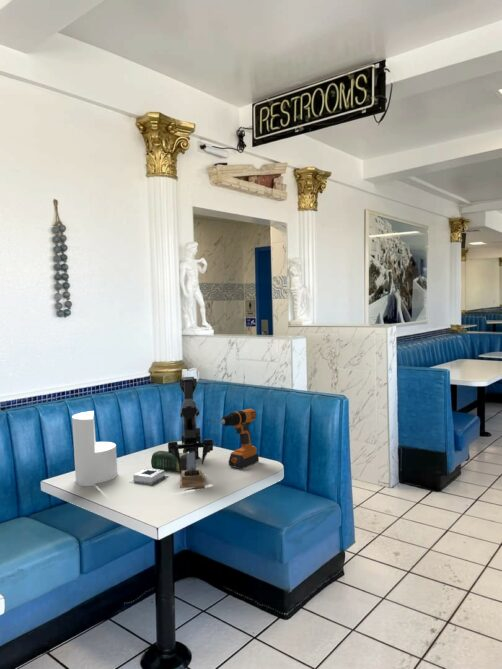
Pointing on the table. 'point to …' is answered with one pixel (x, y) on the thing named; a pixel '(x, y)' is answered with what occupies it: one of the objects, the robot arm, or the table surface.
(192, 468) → the metal rod
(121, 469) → the table surface
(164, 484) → the table surface
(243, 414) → the power drill
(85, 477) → the stepped white column
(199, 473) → the wooden tray
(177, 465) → the coffee jar
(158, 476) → the socket stand
